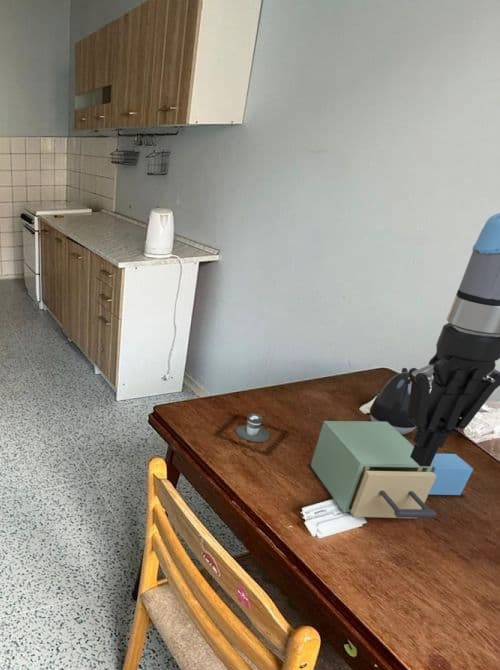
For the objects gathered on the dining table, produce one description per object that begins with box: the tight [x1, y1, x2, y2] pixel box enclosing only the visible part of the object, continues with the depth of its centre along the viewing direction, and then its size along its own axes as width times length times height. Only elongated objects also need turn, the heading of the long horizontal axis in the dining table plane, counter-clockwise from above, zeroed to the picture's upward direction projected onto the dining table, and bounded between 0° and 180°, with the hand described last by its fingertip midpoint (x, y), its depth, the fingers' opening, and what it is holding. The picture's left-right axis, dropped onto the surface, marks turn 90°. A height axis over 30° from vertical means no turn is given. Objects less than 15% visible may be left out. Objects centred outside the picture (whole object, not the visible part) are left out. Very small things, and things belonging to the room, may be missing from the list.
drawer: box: [350, 467, 438, 519], centre depth 88 cm, size 20×11×10 cm, turn 177°
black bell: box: [369, 367, 417, 436], centre depth 112 cm, size 10×10×15 cm
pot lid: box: [235, 413, 271, 443], centre depth 113 cm, size 12×12×5 cm
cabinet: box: [310, 420, 434, 513], centre depth 93 cm, size 15×13×12 cm
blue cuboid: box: [428, 453, 474, 496], centre depth 95 cm, size 7×5×6 cm
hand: (419, 461), depth 79 cm, fingers closed
